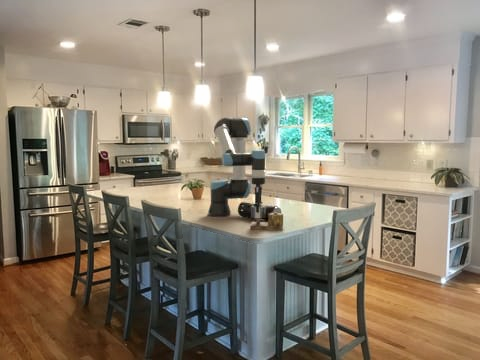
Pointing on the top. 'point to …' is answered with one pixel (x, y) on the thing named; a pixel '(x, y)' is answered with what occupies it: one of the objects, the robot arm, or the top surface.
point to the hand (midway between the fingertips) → (258, 216)
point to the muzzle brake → (247, 210)
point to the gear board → (264, 226)
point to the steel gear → (262, 211)
